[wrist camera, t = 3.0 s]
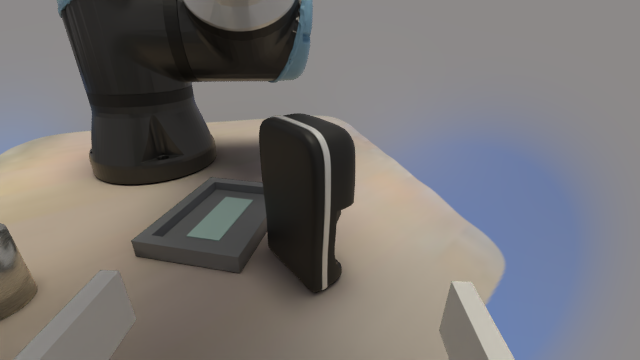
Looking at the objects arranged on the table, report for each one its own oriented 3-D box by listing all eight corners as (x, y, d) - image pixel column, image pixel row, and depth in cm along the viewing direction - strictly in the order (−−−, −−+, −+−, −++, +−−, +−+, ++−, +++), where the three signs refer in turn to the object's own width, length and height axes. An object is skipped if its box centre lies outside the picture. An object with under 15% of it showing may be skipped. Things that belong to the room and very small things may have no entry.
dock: (213, 189, 35) (211, 177, 35) (288, 197, 34) (287, 185, 33) (136, 256, 25) (131, 240, 24) (240, 273, 23) (238, 257, 22)
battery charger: (356, 275, 23) (368, 125, 18) (316, 300, 21) (316, 137, 16) (303, 232, 28) (300, 105, 23) (265, 248, 26) (254, 112, 21)
